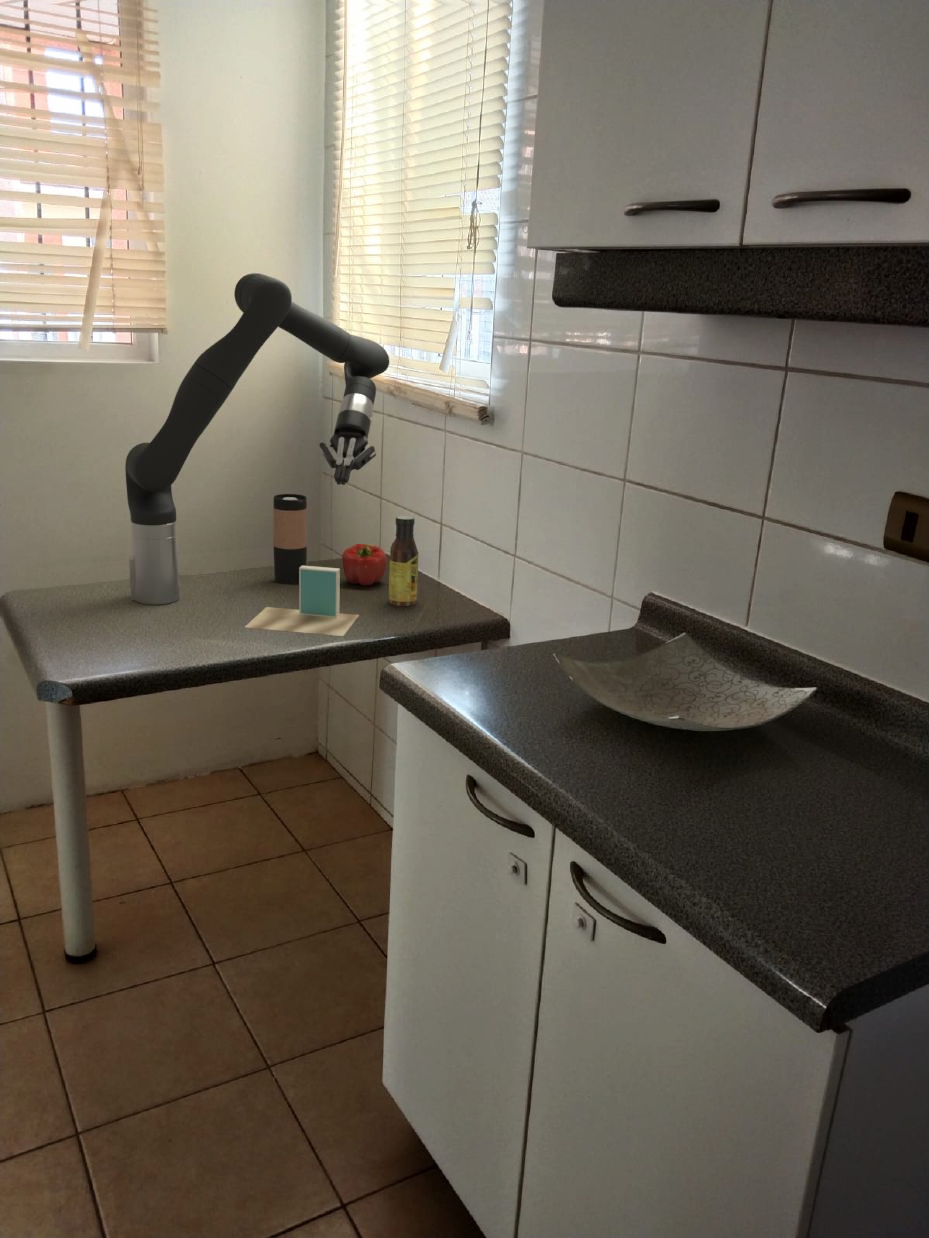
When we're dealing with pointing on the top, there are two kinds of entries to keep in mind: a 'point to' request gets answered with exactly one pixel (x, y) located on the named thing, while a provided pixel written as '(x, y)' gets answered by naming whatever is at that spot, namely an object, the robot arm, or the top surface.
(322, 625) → the board
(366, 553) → the vegetable
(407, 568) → the sauce bottle
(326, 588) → the tile
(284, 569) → the travel mug
